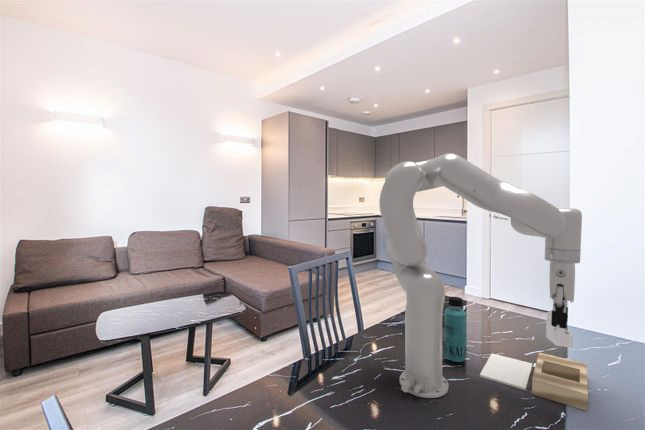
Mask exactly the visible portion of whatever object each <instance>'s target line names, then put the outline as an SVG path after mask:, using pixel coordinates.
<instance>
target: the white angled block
mask: <svg viewBox="0 0 645 430" xmlns="http://www.w3.org/2000/svg"><path fill="white" fill-rule="evenodd" d="M552 310H553V309H551V310H550V311H547V312H546V320H545V323H546V327H545V329H546V330H545V337H546V339H547V340H549V341H550V342H551V343H552V344H554V345H555V346H556V347H564V348H565V347H566V348H573V347H574V346H573V345H574V344H573V342H574V335H573V333H571V332H570V331H568V330H567V329H564V328H559V325H557V327H554V326H552V325H551V320H552ZM563 312H564V311H563Z"/></svg>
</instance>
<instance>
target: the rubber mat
mask: <svg viewBox="0 0 645 430" xmlns="http://www.w3.org/2000/svg"><path fill="white" fill-rule="evenodd" d="M532 369H533V363H532V362H529V361H528V362H527V361H524V360H520V359H517V358H512V357H508V356H504V355H501V354H495V353H490V356H489V357H488V359H487V360H486V362H485V365H484V366H483V368H482V370H481V372H480V373H479V377H480V378H483V379H485V380H489V381H493V382H497V383H498V384H499V383H500V384H502V385H503V384H504V385H507V386H510V387H513V388H516V389H519V390H523V391H526V390H527V386H528V383H529V380H530V376H531V372H532Z"/></svg>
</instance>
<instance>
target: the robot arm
mask: <svg viewBox="0 0 645 430" xmlns="http://www.w3.org/2000/svg"><path fill="white" fill-rule="evenodd" d="M442 187H444V188H446V189H448V190H449V191H451V192H452V193H455V194H456V195H457V196H459V197H461V198H462V199H465V200H466V201H467V202H469V203H470V204H472V205H473V206H475V207H478V208H480V209H483V210H485V211H487V212H488V211H489V212H493V213H496V214H500V215H503V216H506V217H508V218H510V225H511V227H512V229H513V230H514V231H516V232H517V233H519V234H521V235H525V236H531V237H538V238H544V260H545V261H548V262H549V297H550V299H551V300H552V309H551V310H552V320H551V325H552V326H554V327H557V325H559V328H564V329H565V330H567V328H568V317H569V316H568V314H569V313H568V312H569V307H568V301H569V302H570V303H574V301H575V287H576V286H575V285H576V284H575V283H576V264H580V263H581V253H582V251H581V249H582V248H581V247H582V225H583V224H582V223H583V215H582V214H583V213H582V211H581V210H579V209H578V208H571V207H569V208H568V207H567V208H565V207H564V208H563V207H559V208H558V207H556V206H555V205H553V204H551V203H550V202H549V201H547V200H545V199H543V198H542V197H540V196H538V195H536V194H534V193H533V192H529V191H527V190H525V189H523V188H520V187H518V186H515V185H513V184H510V183H508V182H506V181H503V180H500V179H498V178H497V177H495V176H493V175H491V174H490V173H488V172H487V171H485V170H484V169H481V168H480V167H478V166H477V165H475V164H473V163H472V162H470V161H468V160H467V159H465V158H464V157H463V156H460V155H458V154H456V153H444V154H442V155H439V156H436V157H434V158H431V159H427V160H424V161H419V162H418V161H417V162H413V161H411V160H410V161H409V160H408V161H407V160H406V161H403V162H399V163H398V164H396V165H395V166H392V167H391V168H390V169H389V170H388V171H387V172H386V176H385V179H384V182H383V185H382V187H381V191H380V194H379V201H378V202H379V203H378V204H379V205H378V206H379V212H380V216H381V219H382V222H383V226H384V229H385V232H386V235H387V238H386V244H385V245H386V247H385V248H386V249H387V250H386V251H387V253H388V257H389V259H390V263H391V265H392V267H393V270H394V273H395V275H396V278H397V282H398V284H399V285H400V287H401V289H402V290H403V291H404V293H405V294H406V303H405V304H406V305H405V311H404V313H405V314H404V326H405V327H404V330H405V331H404V332H405V333H404V335H405V336H404V344H405V346H404V351H405V352H404V357H405V358H404V360H405V361H404V363H405V364H404V365H405V369H404V370H405V371H403V372H402V373H401V374H400V376H399V385H400V386H401V387H400V389H401V390H402V392H404V393H409V394H411V395H413V396H415V397H420V398H422V399H423V398H425V399H438V398H441V397H443V396H445V395H446V394H447V393H448V392H449V382H448V381H447V379H446V378H445V377H444V376H443V314H444V306H445V298H446V288H445V284H444V282H443V280H442V278H441V277H440V275H439V274H438V273H437V272H436V271H434V270H433V269H431V268H430V267H429V266H428V265H427V261H426V258H427V256H428V255H427V254H428V245H427V242H426V239H425V237H424V235H423V232H422V229H421V227H420V225H419V222H418V220H417V219H418V218H417V216H416V212H415V208H414V199H415V195H416V193H419V192H423V191H428V190H433V189H437V188H442ZM563 311H564V312H563Z"/></svg>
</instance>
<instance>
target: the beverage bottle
mask: <svg viewBox="0 0 645 430" xmlns="http://www.w3.org/2000/svg"><path fill="white" fill-rule="evenodd" d="M447 304H448V305H449V307H447V308H445V310H444V323H443V325H444V327H443V328H444V329H443V335H444V336H443V339H444V341H443V356H444V357H445V359H447V360H448V361H451V362H458V363H459V362H460V363H461V362H464V361H465V360H466V358H467V312H466V311H465V310H464V309H463V308H461V307H463V306H464V301H463V298H462V297H459V296H449V297H448V301H447Z"/></svg>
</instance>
